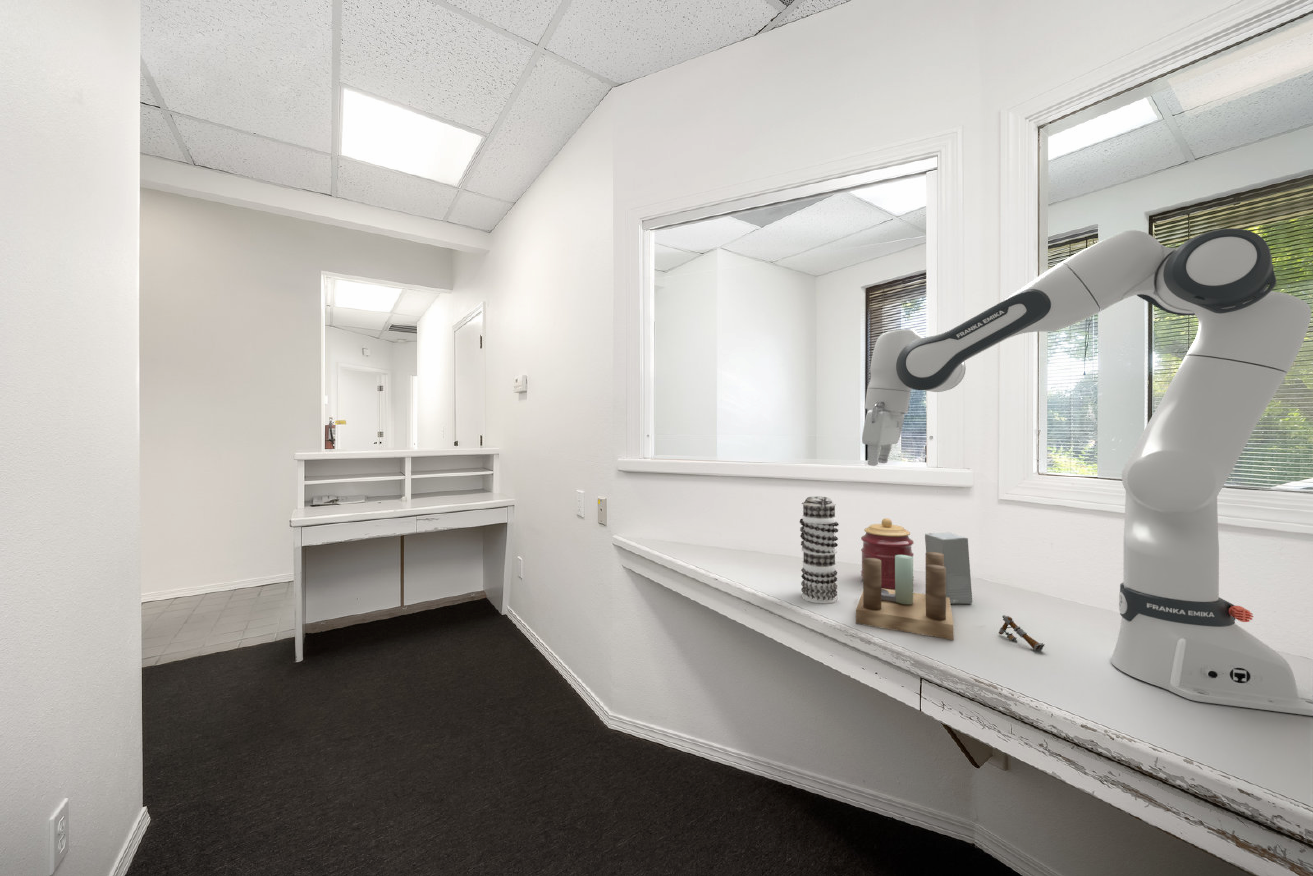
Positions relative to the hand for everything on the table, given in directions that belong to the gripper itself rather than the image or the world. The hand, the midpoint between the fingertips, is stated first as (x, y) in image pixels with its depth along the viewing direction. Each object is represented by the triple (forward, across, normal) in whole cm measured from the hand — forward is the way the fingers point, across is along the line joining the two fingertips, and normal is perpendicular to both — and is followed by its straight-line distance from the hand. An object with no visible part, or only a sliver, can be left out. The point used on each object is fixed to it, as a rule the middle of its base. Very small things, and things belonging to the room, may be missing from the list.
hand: (877, 464), depth 110 cm
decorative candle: (+36, +2, +9) cm, 37 cm away
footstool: (+33, +1, -10) cm, 34 cm away
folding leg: (+30, +1, -7) cm, 31 cm away
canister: (+34, +25, -1) cm, 43 cm away
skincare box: (+32, +20, -16) cm, 41 cm away
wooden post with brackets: (+30, -1, -30) cm, 43 cm away
